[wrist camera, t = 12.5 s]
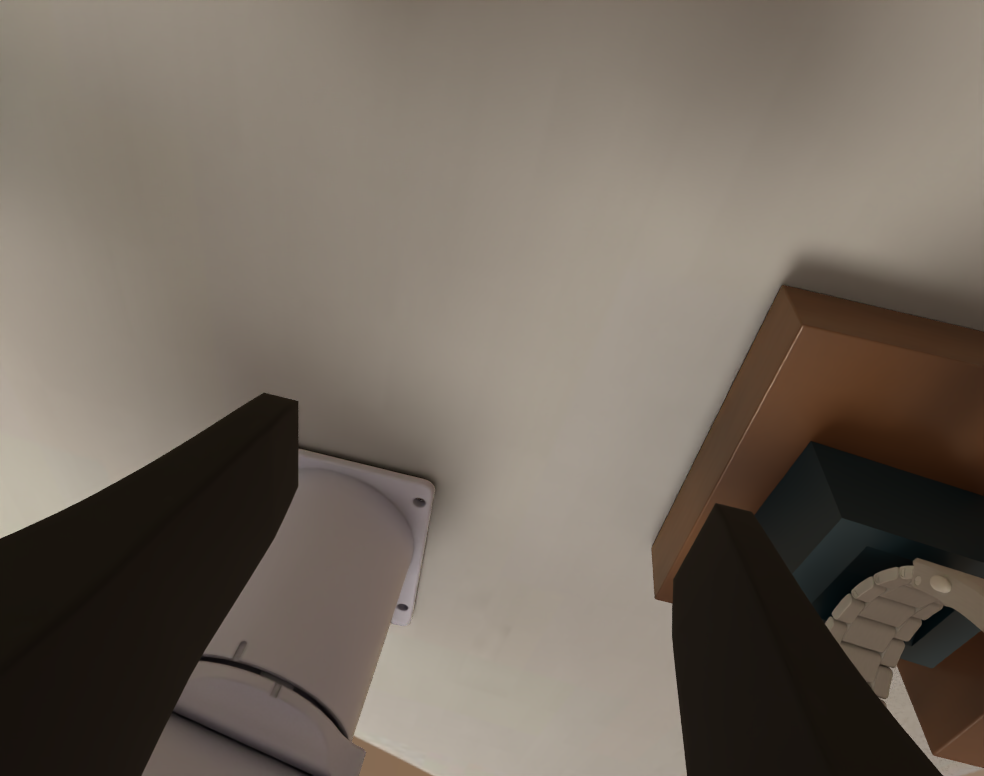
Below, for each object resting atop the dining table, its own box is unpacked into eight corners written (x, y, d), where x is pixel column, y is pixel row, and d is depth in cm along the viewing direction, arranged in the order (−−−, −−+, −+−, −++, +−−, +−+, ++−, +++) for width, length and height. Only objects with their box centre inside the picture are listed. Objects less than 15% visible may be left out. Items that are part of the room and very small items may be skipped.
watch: (712, 570, 22) (778, 984, 13) (845, 394, 18) (1084, 850, 9) (862, 617, 23) (1026, 1057, 14) (1033, 455, 18) (1456, 963, 9)
